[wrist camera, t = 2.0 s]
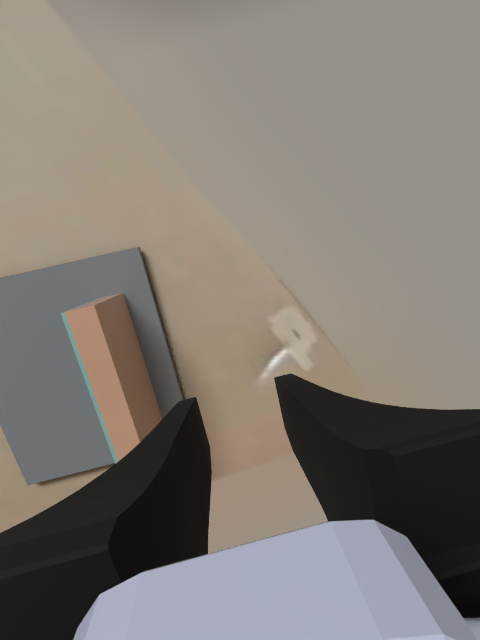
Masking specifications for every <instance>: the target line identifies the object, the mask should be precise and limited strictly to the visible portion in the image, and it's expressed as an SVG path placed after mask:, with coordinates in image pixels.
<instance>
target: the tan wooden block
mask: <svg viewBox="0 0 480 640" xmlns="http://www.w3.org/2000/svg"><path fill="white" fill-rule="evenodd" d="M61 316H62V319H63V322H64V324H65V327H66V330H67V333H68V335H69V338H70V341H71V344H72V346H73V349H74V352H75V355H76V357H77V360H78V363H79V366H80V368H81V371H82V374H83V377H84V379H85V382H86V385H87V388H88V390H89V393H90V396H91V399H92V401H93V404H94V407H95V410H96V412H97V415H98V418H99V421H100V423H101V426H102V429H103V432H104V434H105V437H106V440H107V443H108V446H109V448H110V451H111V454H112V457H113V459H114V462H115V464H116V463H117V462H118V461H120V460H121V459H122V458H123V457H124V456H126V455H127V454H128V453H129V452H130V451H131V450H132V449H134V448H135V447H136V446H137V445H138V444H139V443H140V442H141V441H142V440H143V439H144V438H145V437H146V436H147V435H148V434H149V433H150V432H151V431H152V430H153V429H154V428H155V427H156V426H157V425H158V423H159V422H160V421H161V420H162V416H161V413H160V410H159V406H158V403H157V400H156V397H155V393H154V390H153V387H152V384H151V381H150V377H149V374H148V371H147V368H146V364H145V361H144V358H143V355H142V352H141V348H140V345H139V342H138V339H137V336H136V332H135V329H134V326H133V323H132V319H131V316H130V313H129V310H128V307H127V303H126V300H125V297H124V294H123V293H120V294H116V295H111V296H107V297H103V298H98V299H96V300H93V301H91V302H88V303H85V304H83V305H80V306H78V307H75V308H73V309H70V310H68V311H65V312H62V313H61Z"/></svg>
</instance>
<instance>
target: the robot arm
mask: <svg viewBox="0 0 480 640" xmlns="http://www.w3.org/2000/svg"><path fill="white" fill-rule="evenodd" d="M274 379H275V384H276V389H277V393H278V398H279V403H280V408H281V412H282V417H283V422H284V426H285V430H286V432H287V435H288V438H289V441H290V443H291V446H292V449H293V451H294V453H295V455H296V457H297V459H298V461H299V463H300V465H301V467H302V469H303V471H304V473H305V475H306V477H307V479H308V481H309V483H310V485H311V486H312V488H313V490H314V492H315V494H316V496H317V498H318V500H319V502H320V504H321V506H322V508H323V510H324V512H325V515H326V517H327V519H328V522H324V523H320V524H316V525H313V526H309V527H305V528H302V529H298V530H294V531H291V532H287V533H283V534H279V535H276V536H272V537H268V538H265V539H262V540H258V541H254V542H250V543H246V544H243V545H240V546H235V547H232V548H228V549H225V550H221V551H217V552H214V553H210V554H208V527H209V510H210V492H211V474H212V470H211V456H210V446H209V442H208V439H207V435H206V431H205V428H204V424H203V421H202V417H201V413H200V410H199V406H198V403H197V399H196V397H194V398H190V399H186V400H182V401H179V402H178V403H177V404H176V405H175V406H174V407H173V408H172V409H171V410H170V411H169V412H168V413H167V415H166V416H165V417H164V418H163V419H162V420H161V421H160V422H159V423H158V425H157V426H156V427H155V428H154V429H153V430H152V431H151V432H150V433H149V434H148V435H147V436H146V437H145V438H144V439H143V440H142V441H141V442H140V443H139V444H138V445H137V446H136V447H135V448H134V449H132V450H131V451H130V452H129V453H128V454H127V455H126V456H124V457H123V458H122V459H121V460H120V461H118V462H117V463H116V464H115V465H113V466H112V467H111V468H110V469H108V470H107V471H105V472H104V473H103V474H101V475H100V476H98V477H97V478H95V479H94V480H93V481H91V482H90V483H88V484H87V485H85V486H84V487H83V488H81V489H80V490H78V491H76V492H75V493H73V494H72V495H70V496H68V497H67V498H65V499H63V500H62V501H60V502H58V503H57V504H55V505H53V506H51V507H50V508H48V509H46V510H44V511H43V512H41V513H39V514H37V515H35V516H34V517H32V518H30V519H28V520H26V521H24V522H22V523H20V524H18V525H16V526H14V527H12V528H10V529H8V530H6V531H4V532H2V533H0V640H480V409H472V410H471V409H470V410H469V409H466V410H436V409H417V408H407V407H398V406H391V405H384V404H378V403H373V402H368V401H364V400H360V399H356V398H352V397H348V396H345V395H342V394H339V393H336V392H333V391H330V390H328V389H325V388H323V387H320V386H318V385H316V384H313V383H311V382H309V381H307V380H304V379H302V378H300V377H298V376H296V375H293V374H287V375H283V376H279V377H275V378H274Z"/></svg>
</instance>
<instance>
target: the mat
mask: <svg viewBox="0 0 480 640" xmlns="http://www.w3.org/2000/svg"><path fill="white" fill-rule="evenodd" d="M120 293H123V294H124V297H125V300H126V303H127V307H128V310H129V313H130V316H131V319H132V323H133V326H134V329H135V332H136V336H137V339H138V342H139V345H140V348H141V352H142V355H143V358H144V361H145V364H146V368H147V371H148V374H149V377H150V381H151V384H152V387H153V390H154V393H155V397H156V400H157V403H158V406H159V410H160V413H161V416H162V419H163V418H164V417H165V416H166V415H167V413H168V412H169V411H170V410H171V409H172V408H173V407H174V406H175V405H176V404H177V403H178V402H179V401H182V400H184V399H183V396H182V392H181V389H180V385H179V382H178V378H177V375H176V371H175V368H174V364H173V361H172V358H171V354H170V351H169V347H168V344H167V340H166V337H165V333H164V330H163V326H162V323H161V319H160V316H159V313H158V309H157V306H156V302H155V299H154V295H153V292H152V288H151V285H150V281H149V278H148V274H147V271H146V268H145V264H144V261H143V257H142V254H141V250H140V247H137V248H132V249H128V250H124V251H119V252H115V253H110V254H106V255H101V256H97V257H92V258H88V259H84V260H79V261H75V262H70V263H66V264H61V265H57V266H52V267H48V268H44V269H39V270H35V271H30V272H26V273H21V274H17V275H12V276H8V277H4V278H0V425H1V427H2V429H3V431H4V434H5V436H6V438H7V440H8V443H9V445H10V447H11V449H12V452H13V454H14V456H15V458H16V461H17V463H18V465H19V467H20V470H21V472H22V474H23V476H24V478H25V481H26V483H27V485H31V484H35V483H39V482H43V481H46V480H50V479H54V478H58V477H62V476H66V475H70V474H74V473H78V472H82V471H86V470H90V469H94V468H97V467H101V466H105V465H109V464H113V463H115V462H114V459H113V457H112V454H111V451H110V448H109V446H108V443H107V440H106V437H105V434H104V432H103V429H102V426H101V423H100V421H99V418H98V415H97V412H96V410H95V407H94V404H93V401H92V399H91V396H90V393H89V390H88V388H87V385H86V382H85V379H84V377H83V374H82V371H81V368H80V366H79V363H78V360H77V357H76V355H75V352H74V349H73V346H72V344H71V341H70V338H69V335H68V333H67V330H66V327H65V324H64V322H63V319H62V316H61V313H62V312H65V311H68V310H70V309H73V308H75V307H78V306H80V305H83V304H85V303H88V302H91V301H93V300H96V299H98V298H103V297H107V296H111V295H116V294H120Z"/></svg>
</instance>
